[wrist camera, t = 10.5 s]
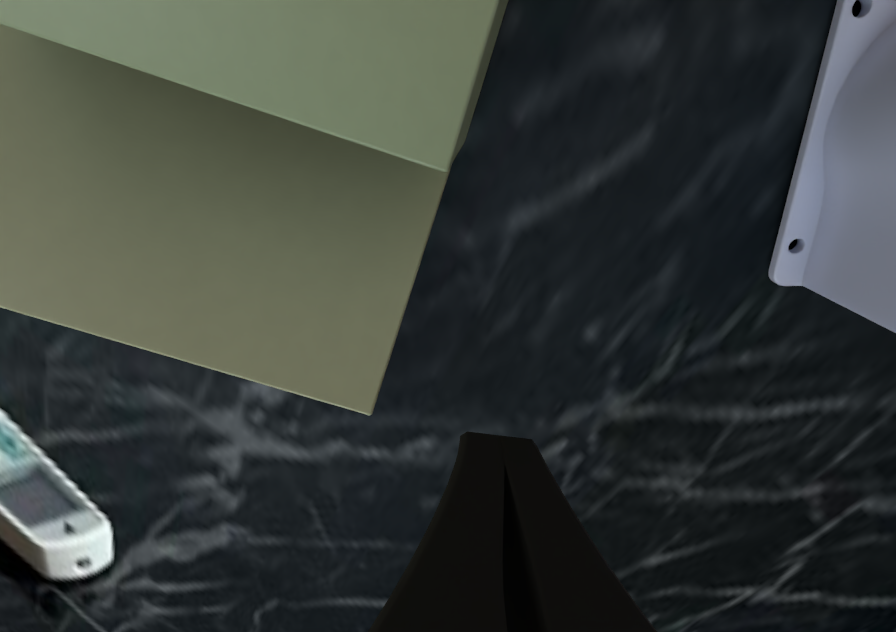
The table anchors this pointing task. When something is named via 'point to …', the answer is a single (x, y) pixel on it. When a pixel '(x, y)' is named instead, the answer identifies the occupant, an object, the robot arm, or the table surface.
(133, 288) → the oven door
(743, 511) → the table surface
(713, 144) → the table surface
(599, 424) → the table surface
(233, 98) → the oven
